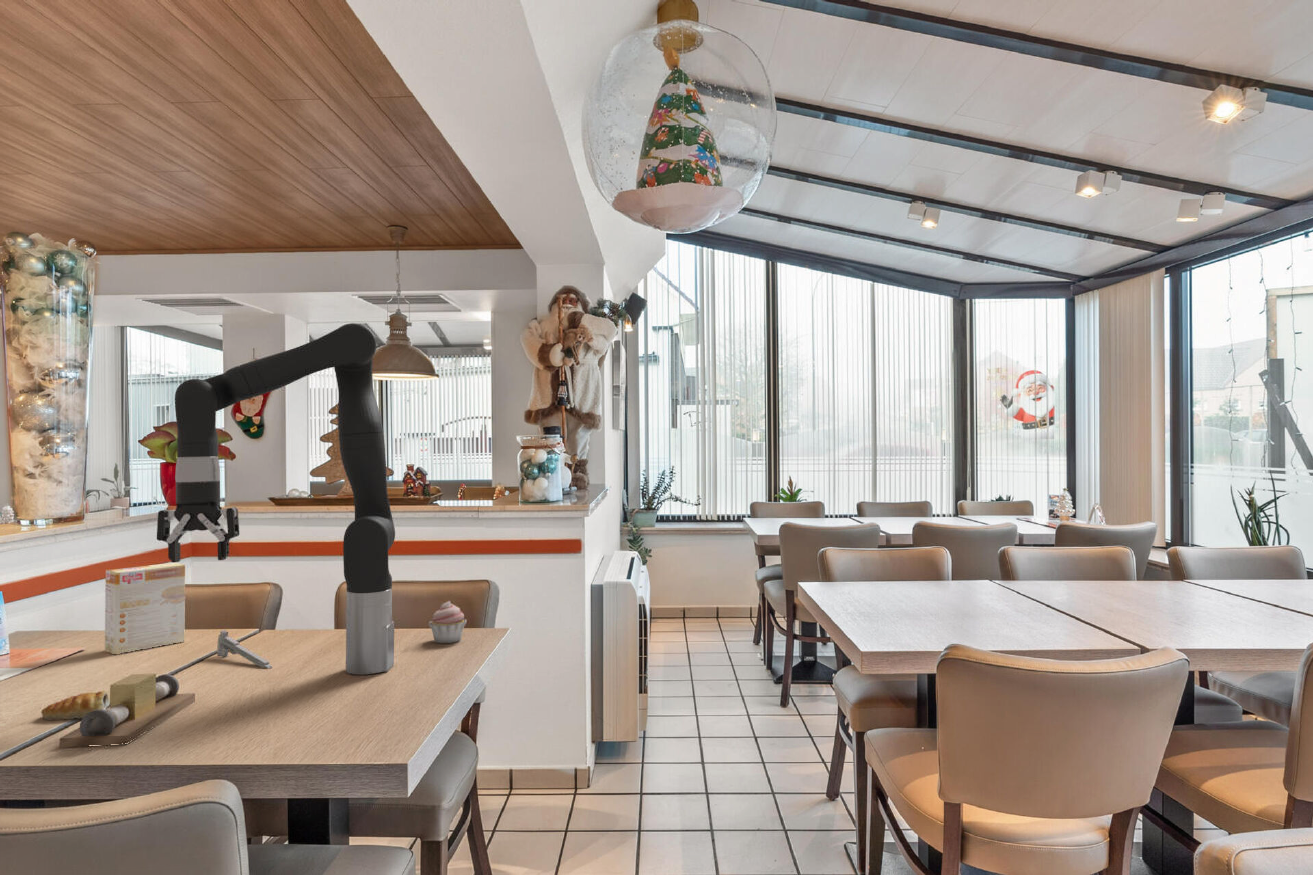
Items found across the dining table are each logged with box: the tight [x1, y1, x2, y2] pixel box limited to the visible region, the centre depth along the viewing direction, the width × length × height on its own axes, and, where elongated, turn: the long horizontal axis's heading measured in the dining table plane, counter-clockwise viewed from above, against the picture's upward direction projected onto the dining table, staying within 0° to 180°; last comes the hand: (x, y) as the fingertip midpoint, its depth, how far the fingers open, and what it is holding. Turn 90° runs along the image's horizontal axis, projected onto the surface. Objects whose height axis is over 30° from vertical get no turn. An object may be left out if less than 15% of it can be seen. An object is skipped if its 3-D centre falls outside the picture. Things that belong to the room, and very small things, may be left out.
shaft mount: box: [59, 673, 196, 749], centre depth 126 cm, size 10×21×5 cm, turn 7°
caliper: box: [216, 629, 273, 670], centre depth 164 cm, size 20×1×6 cm, turn 59°
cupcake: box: [428, 600, 467, 644], centre depth 182 cm, size 9×9×10 cm
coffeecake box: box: [104, 562, 186, 655], centre depth 178 cm, size 15×7×20 cm, turn 144°
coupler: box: [109, 673, 157, 720], centre depth 126 cm, size 4×6×6 cm, turn 6°
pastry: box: [40, 690, 110, 721], centre depth 130 cm, size 9×7×4 cm
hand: (198, 560), depth 144 cm, fingers open, 8 cm apart
